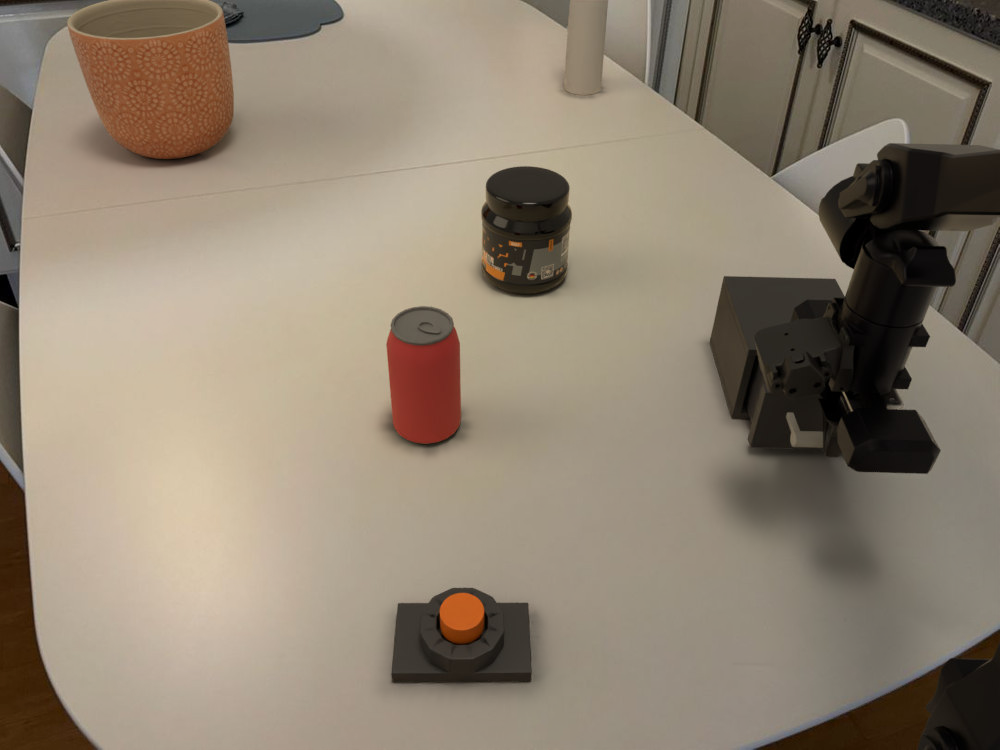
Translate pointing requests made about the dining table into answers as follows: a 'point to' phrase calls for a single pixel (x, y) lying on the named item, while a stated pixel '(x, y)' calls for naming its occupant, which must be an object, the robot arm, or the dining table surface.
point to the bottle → (585, 46)
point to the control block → (482, 660)
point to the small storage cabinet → (755, 324)
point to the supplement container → (525, 229)
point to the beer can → (424, 374)
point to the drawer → (782, 417)
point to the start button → (462, 618)
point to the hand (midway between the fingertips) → (829, 454)
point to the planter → (157, 73)
